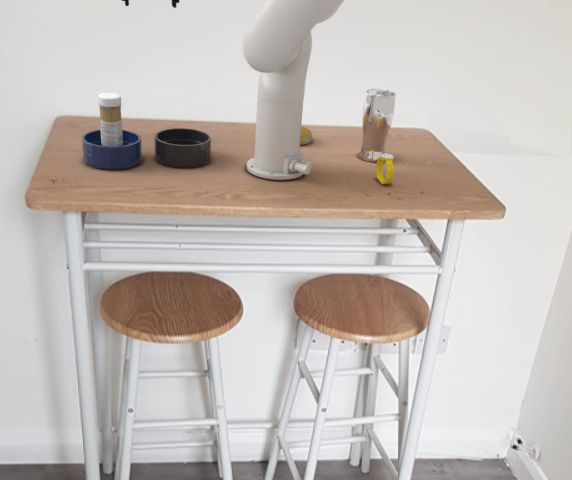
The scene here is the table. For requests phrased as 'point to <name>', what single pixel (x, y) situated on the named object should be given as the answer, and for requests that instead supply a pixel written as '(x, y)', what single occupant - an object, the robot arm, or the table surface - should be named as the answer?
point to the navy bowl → (112, 151)
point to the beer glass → (376, 122)
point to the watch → (389, 163)
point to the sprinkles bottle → (110, 119)
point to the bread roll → (305, 136)
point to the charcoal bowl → (182, 147)
